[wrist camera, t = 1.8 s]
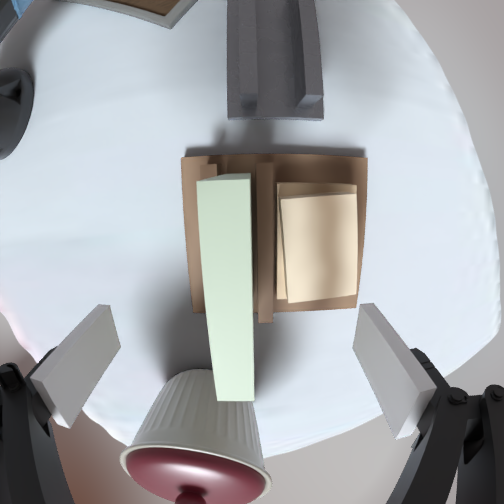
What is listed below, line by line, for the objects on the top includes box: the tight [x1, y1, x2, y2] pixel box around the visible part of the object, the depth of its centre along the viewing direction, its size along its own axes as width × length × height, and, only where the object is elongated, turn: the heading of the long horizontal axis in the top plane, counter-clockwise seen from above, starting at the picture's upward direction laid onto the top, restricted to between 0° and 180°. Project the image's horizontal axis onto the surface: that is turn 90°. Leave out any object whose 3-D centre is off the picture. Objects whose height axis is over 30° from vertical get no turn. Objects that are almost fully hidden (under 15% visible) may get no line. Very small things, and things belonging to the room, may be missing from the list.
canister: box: [120, 369, 272, 504], centre depth 29 cm, size 18×18×21 cm
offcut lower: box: [275, 182, 357, 299], centre depth 29 cm, size 8×12×2 cm, turn 1°
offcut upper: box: [278, 191, 358, 303], centre depth 26 cm, size 7×10×2 cm
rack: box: [181, 154, 367, 323], centre depth 29 cm, size 20×18×6 cm
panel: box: [196, 173, 254, 401], centre depth 22 cm, size 2×14×16 cm, turn 1°
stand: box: [227, 0, 324, 121], centre depth 21 cm, size 10×18×8 cm, turn 1°
